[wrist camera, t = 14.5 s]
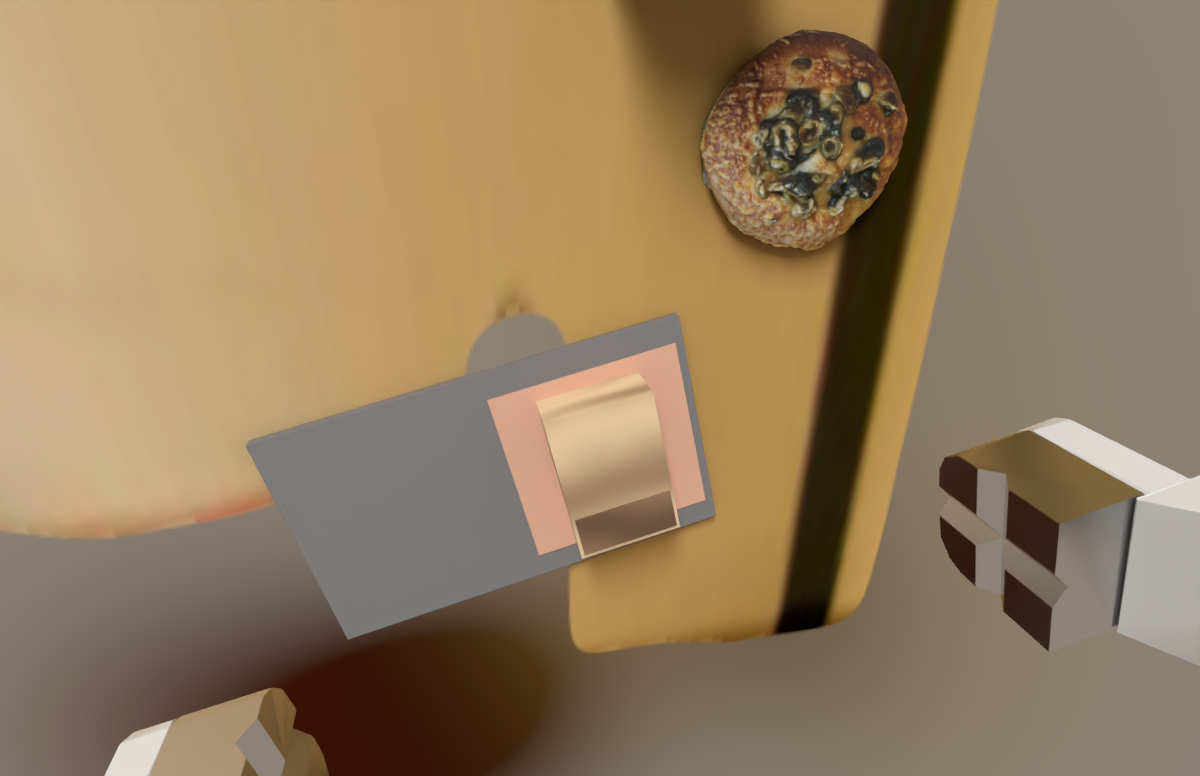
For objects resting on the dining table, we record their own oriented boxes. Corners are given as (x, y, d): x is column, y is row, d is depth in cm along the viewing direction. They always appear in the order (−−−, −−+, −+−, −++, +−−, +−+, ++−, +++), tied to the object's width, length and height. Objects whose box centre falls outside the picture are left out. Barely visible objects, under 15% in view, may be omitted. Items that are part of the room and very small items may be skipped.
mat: (349, 632, 42) (347, 640, 41) (248, 440, 36) (245, 447, 35) (712, 510, 45) (716, 516, 44) (675, 312, 39) (679, 316, 38)
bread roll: (885, 2, 35) (948, 7, 30) (879, 211, 41) (931, 239, 37) (677, 57, 34) (712, 70, 30) (703, 261, 40) (735, 296, 36)
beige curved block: (535, 401, 38) (543, 426, 35) (637, 371, 39) (653, 393, 36) (572, 529, 42) (582, 560, 39) (664, 499, 43) (681, 528, 40)
